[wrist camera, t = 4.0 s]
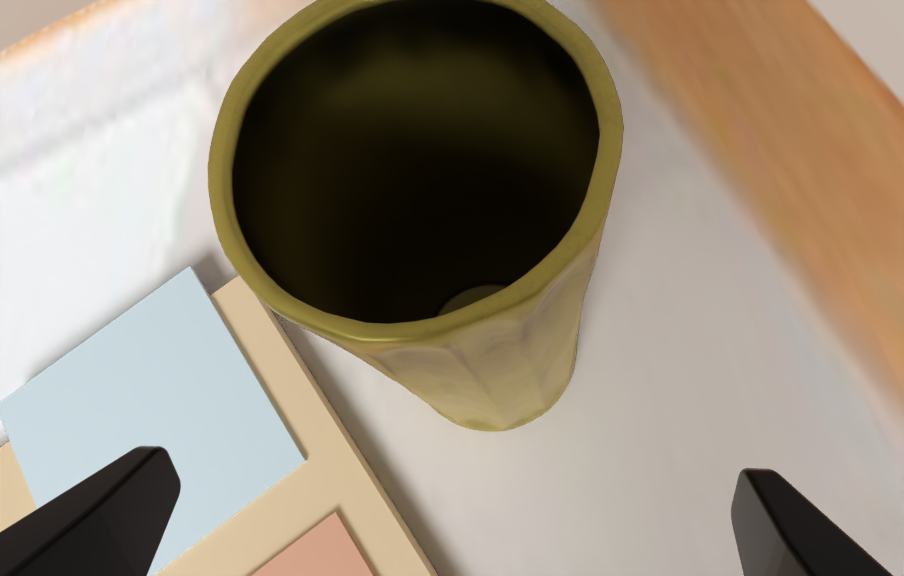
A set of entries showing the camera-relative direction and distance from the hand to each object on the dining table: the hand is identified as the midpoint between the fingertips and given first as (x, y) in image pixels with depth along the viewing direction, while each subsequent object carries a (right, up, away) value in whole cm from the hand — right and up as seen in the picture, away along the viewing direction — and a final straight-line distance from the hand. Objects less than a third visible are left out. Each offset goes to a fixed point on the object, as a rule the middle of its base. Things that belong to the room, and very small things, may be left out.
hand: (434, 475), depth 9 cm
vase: (+2, +1, +12) cm, 12 cm away
